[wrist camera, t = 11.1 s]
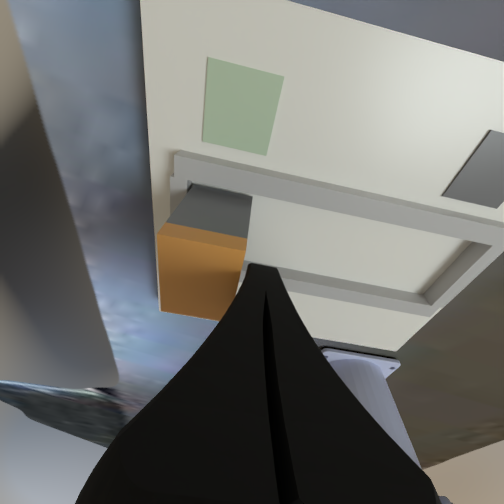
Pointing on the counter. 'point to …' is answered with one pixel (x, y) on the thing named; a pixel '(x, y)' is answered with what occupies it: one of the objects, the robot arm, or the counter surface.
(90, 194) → the counter surface
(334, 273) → the switch panel
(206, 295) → the knob
